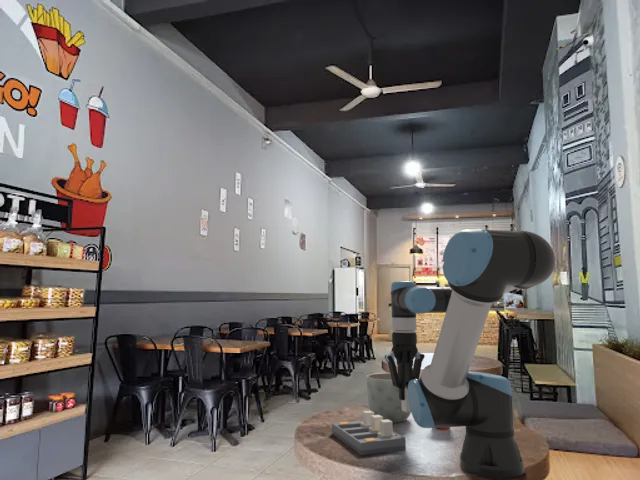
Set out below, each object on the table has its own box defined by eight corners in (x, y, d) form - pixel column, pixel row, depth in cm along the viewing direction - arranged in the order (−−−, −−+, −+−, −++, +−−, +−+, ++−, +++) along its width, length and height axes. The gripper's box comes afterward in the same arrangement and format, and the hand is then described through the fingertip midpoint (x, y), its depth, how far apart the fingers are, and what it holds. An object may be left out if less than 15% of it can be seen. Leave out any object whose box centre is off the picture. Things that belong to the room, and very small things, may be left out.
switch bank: (405, 449, 127) (405, 437, 128) (361, 455, 122) (360, 442, 123) (371, 429, 148) (371, 418, 148) (332, 433, 143) (332, 422, 143)
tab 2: (385, 436, 135) (385, 416, 136) (373, 437, 134) (373, 417, 135) (380, 433, 139) (380, 414, 139) (368, 434, 137) (368, 415, 138)
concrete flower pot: (412, 428, 150) (411, 381, 152) (362, 424, 154) (362, 378, 156) (416, 416, 166) (415, 373, 168) (371, 413, 170) (370, 372, 173)
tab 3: (395, 441, 130) (394, 421, 131) (383, 443, 129) (382, 422, 129) (389, 438, 133) (389, 418, 134) (377, 439, 132) (377, 420, 133)
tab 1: (376, 430, 141) (376, 412, 142) (365, 432, 140) (364, 413, 141) (371, 428, 144) (371, 410, 145) (360, 429, 143) (360, 411, 144)
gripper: (416, 330, 143) (418, 406, 140) (379, 331, 139) (381, 409, 136) (429, 331, 136) (431, 412, 133) (391, 332, 132) (393, 415, 129)
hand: (406, 410), depth 135 cm, fingers closed
